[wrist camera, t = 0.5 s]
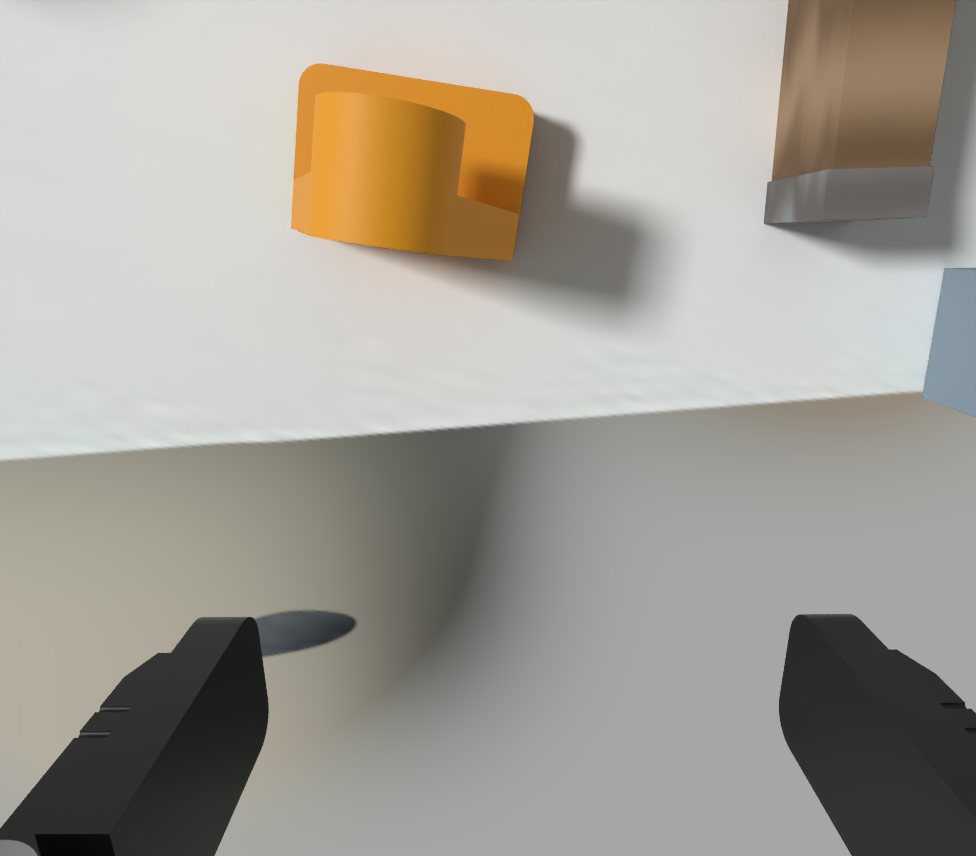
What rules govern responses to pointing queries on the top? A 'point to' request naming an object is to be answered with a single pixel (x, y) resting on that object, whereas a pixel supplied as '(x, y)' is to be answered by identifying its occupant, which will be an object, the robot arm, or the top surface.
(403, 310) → the top surface
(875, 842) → the robot arm
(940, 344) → the grey u-channel
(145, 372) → the top surface
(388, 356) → the top surface
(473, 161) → the bracket
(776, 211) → the rail
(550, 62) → the top surface
